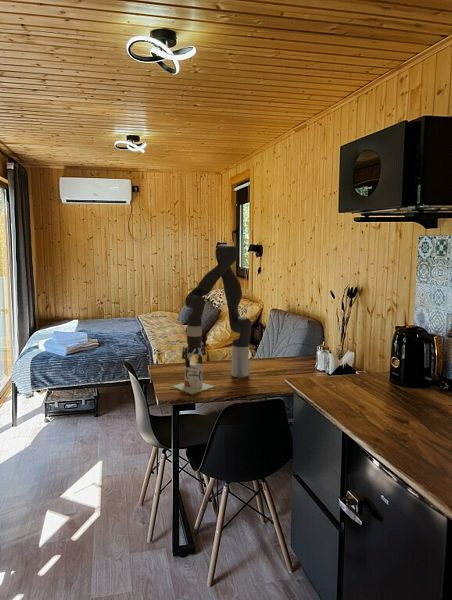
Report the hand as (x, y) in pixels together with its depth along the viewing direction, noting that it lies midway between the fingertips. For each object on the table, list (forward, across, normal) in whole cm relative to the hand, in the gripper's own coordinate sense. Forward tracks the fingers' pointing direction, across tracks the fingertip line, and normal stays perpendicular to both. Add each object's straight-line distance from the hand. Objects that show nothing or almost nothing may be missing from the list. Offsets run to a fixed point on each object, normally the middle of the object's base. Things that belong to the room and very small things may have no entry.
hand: (193, 365), depth 238 cm
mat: (+11, 0, 0) cm, 11 cm away
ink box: (+11, 0, 0) cm, 11 cm away
